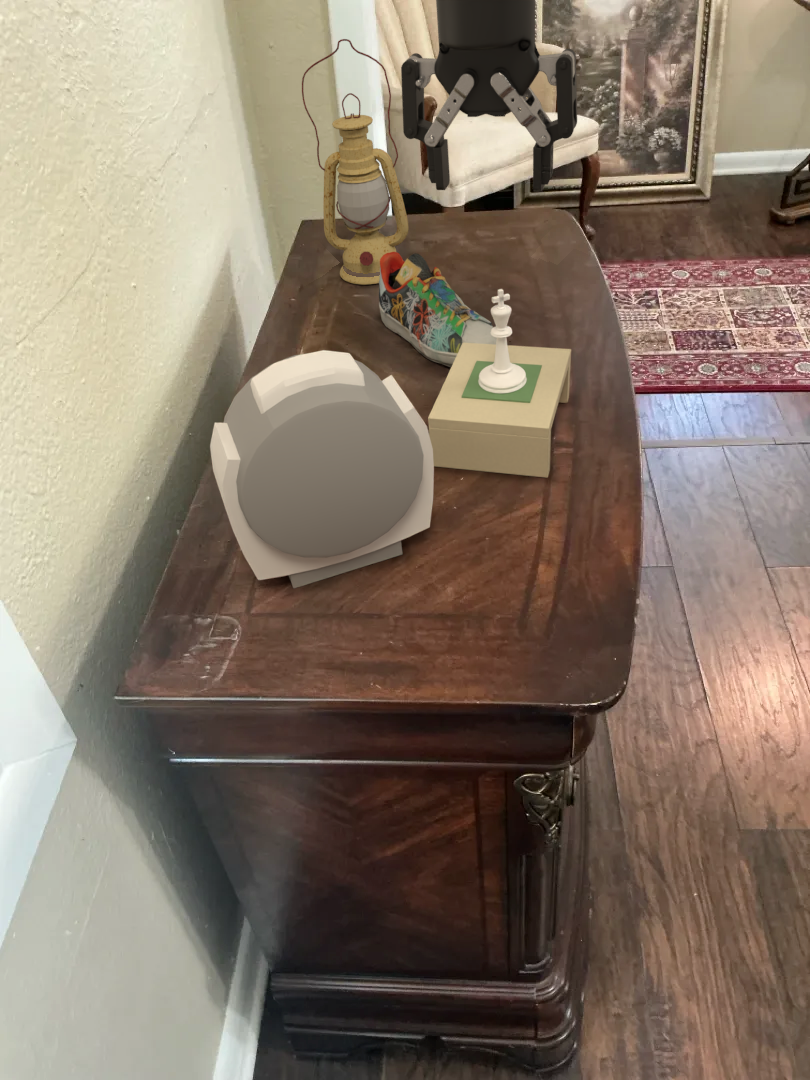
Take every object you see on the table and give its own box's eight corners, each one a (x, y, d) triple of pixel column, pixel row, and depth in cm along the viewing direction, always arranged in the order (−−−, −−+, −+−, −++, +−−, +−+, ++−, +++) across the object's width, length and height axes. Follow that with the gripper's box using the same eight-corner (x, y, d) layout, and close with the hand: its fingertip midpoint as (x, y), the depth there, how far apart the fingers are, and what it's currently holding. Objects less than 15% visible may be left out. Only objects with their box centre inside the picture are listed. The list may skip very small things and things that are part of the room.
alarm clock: (414, 500, 85) (394, 314, 72) (446, 553, 79) (431, 360, 66) (238, 554, 82) (181, 368, 69) (257, 613, 76) (199, 422, 62)
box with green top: (569, 396, 97) (571, 347, 93) (547, 478, 86) (548, 426, 82) (464, 388, 100) (462, 340, 96) (432, 466, 89) (427, 416, 85)
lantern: (327, 290, 122) (288, 54, 102) (333, 260, 130) (298, 34, 110) (411, 284, 121) (389, 44, 101) (412, 254, 129) (392, 25, 109)
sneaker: (471, 386, 100) (466, 308, 94) (364, 326, 114) (354, 255, 107) (519, 361, 103) (517, 284, 97) (409, 306, 117) (402, 235, 110)
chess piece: (534, 386, 88) (535, 294, 81) (489, 398, 87) (486, 306, 80) (515, 364, 91) (514, 274, 84) (471, 375, 90) (467, 285, 84)
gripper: (379, -16, 64) (400, 203, 75) (573, -28, 60) (566, 206, 71) (407, -36, 69) (423, 172, 80) (587, -47, 65) (579, 172, 76)
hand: (490, 187), depth 75 cm, fingers open, 8 cm apart
